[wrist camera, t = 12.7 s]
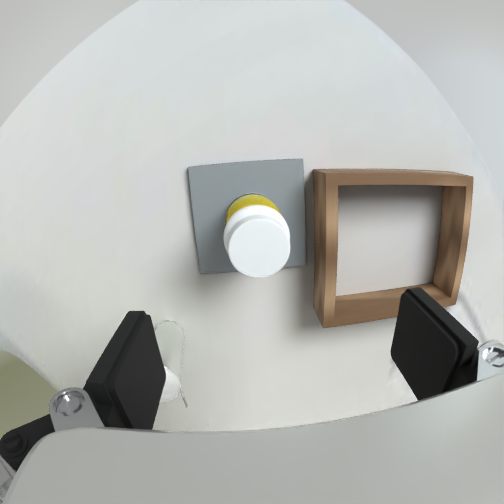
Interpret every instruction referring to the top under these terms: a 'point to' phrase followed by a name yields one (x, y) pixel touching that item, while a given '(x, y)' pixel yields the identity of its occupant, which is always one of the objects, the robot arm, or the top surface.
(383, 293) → the walnut box
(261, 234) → the supplement bottle
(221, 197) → the slate mat
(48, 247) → the top surface
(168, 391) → the milkshake
